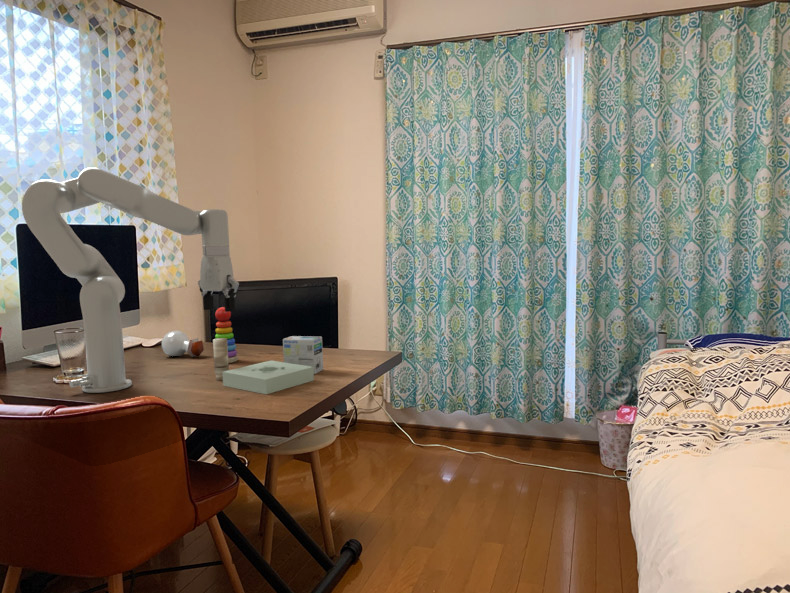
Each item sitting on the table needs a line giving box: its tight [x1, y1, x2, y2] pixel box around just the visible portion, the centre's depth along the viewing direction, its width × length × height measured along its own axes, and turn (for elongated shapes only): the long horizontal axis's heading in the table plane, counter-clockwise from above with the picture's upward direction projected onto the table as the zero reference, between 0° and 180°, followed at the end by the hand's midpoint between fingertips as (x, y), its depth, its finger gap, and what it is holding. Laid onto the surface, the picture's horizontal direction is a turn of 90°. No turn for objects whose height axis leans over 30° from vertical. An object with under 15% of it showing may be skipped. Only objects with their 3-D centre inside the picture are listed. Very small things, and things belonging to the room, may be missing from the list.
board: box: [222, 360, 315, 395], centre depth 165 cm, size 18×18×4 cm
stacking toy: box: [214, 306, 239, 364], centre depth 196 cm, size 8×8×19 cm
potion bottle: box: [161, 330, 205, 358], centre depth 208 cm, size 9×10×15 cm
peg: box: [212, 338, 230, 381], centre depth 171 cm, size 4×4×12 cm
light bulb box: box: [282, 335, 324, 375], centre depth 179 cm, size 11×7×11 cm, turn 74°
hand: (219, 310), depth 170 cm, fingers open, 9 cm apart
